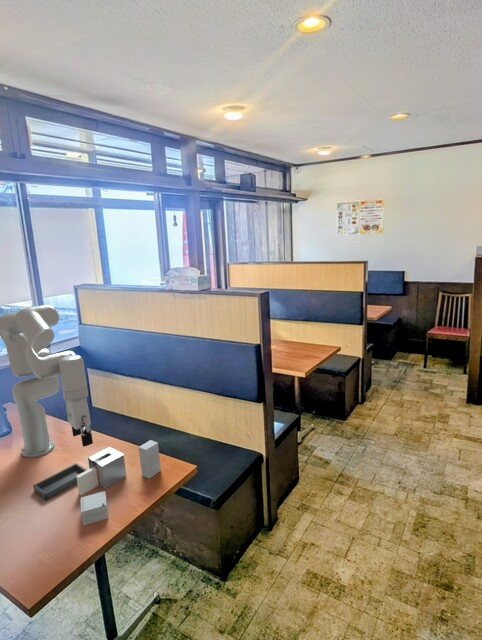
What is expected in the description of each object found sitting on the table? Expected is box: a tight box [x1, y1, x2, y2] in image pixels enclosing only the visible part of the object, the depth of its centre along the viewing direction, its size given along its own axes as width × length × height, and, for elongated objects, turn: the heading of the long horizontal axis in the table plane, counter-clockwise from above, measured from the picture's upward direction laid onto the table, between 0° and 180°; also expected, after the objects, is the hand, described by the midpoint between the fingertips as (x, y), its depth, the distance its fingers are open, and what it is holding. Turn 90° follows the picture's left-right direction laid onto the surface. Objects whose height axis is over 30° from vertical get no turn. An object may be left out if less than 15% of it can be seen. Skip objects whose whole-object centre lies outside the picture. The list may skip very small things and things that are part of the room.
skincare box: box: [138, 439, 162, 480], centre depth 146 cm, size 6×4×12 cm
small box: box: [80, 491, 109, 526], centre depth 126 cm, size 8×8×5 cm
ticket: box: [76, 465, 100, 496], centre depth 141 cm, size 2×13×7 cm, turn 142°
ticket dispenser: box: [87, 446, 127, 489], centre depth 144 cm, size 9×9×9 cm
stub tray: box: [33, 463, 88, 501], centre depth 143 cm, size 8×16×2 cm, turn 142°
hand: (82, 439), depth 133 cm, fingers open, 9 cm apart
